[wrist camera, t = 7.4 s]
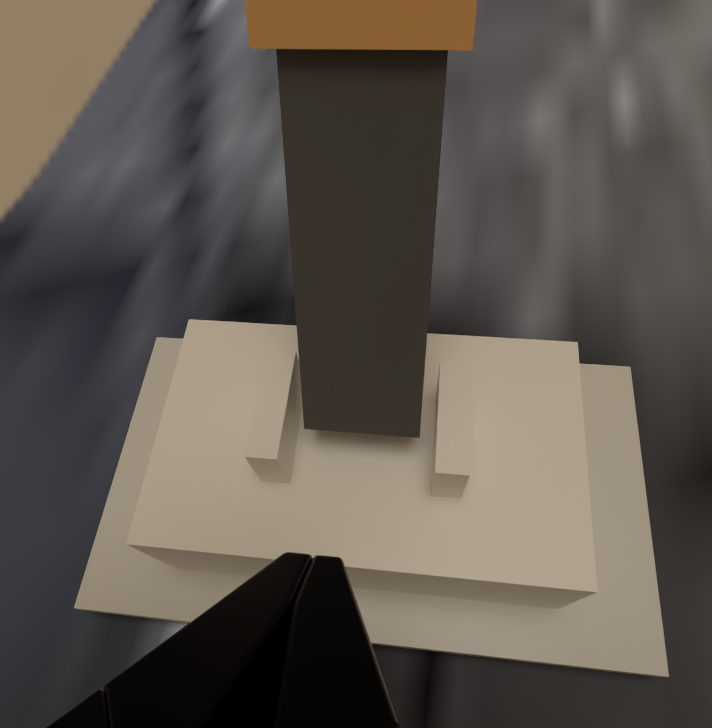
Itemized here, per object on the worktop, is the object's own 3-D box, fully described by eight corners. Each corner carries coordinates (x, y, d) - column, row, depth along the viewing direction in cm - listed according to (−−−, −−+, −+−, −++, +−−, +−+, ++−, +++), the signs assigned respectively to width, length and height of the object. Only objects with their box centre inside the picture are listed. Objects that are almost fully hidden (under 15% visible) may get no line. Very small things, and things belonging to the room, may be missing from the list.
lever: (435, 447, 15) (483, -70, 9) (286, 435, 15) (238, -68, 9) (436, 398, 16) (477, -65, 10) (302, 389, 17) (269, -62, 11)
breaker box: (652, 676, 18) (795, 677, 11) (91, 612, 20) (-56, 581, 13) (619, 381, 22) (707, 264, 16) (167, 352, 24) (85, 237, 18)
